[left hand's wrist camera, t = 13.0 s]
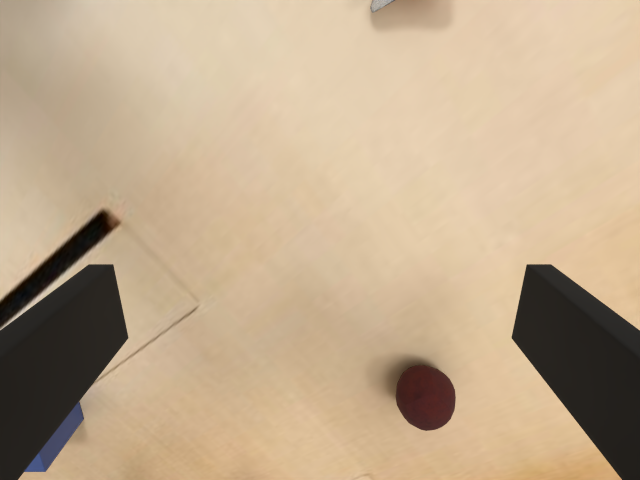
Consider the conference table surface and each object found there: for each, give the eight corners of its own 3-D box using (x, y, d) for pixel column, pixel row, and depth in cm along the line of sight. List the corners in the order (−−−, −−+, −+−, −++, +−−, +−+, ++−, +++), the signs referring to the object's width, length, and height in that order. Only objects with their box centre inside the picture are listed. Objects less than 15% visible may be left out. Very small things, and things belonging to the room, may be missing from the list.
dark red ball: (409, 408, 54) (422, 451, 48) (380, 370, 52) (388, 411, 45) (456, 383, 53) (476, 425, 46) (428, 344, 50) (444, 382, 44)
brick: (46, 418, 55) (1, 472, 47) (30, 369, 52) (-20, 418, 44) (84, 418, 55) (45, 471, 47) (70, 369, 52) (27, 418, 44)
